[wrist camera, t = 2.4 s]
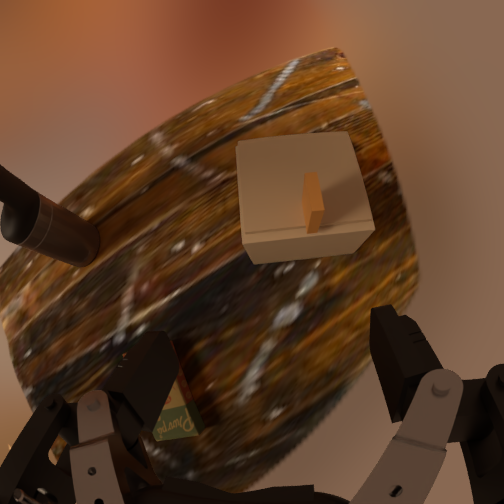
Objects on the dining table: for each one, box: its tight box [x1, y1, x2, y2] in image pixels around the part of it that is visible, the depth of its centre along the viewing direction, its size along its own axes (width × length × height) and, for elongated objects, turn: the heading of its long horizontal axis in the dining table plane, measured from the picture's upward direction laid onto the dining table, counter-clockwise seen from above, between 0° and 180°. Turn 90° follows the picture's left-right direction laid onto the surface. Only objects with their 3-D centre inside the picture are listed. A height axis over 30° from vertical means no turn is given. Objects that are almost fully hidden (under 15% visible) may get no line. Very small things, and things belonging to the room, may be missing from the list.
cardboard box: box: [236, 136, 375, 264], centre depth 38 cm, size 14×16×12 cm
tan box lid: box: [238, 131, 372, 234], centre depth 29 cm, size 14×15×7 cm
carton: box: [123, 341, 205, 441], centre depth 38 cm, size 8×16×4 cm, turn 20°
